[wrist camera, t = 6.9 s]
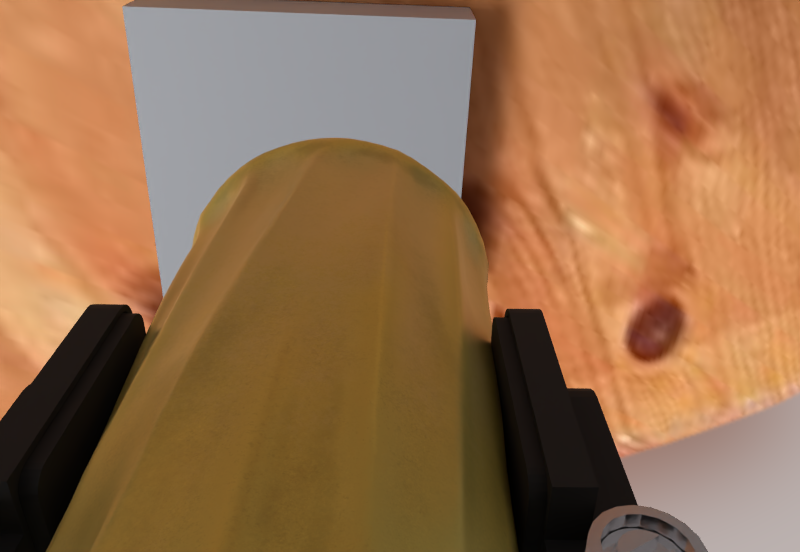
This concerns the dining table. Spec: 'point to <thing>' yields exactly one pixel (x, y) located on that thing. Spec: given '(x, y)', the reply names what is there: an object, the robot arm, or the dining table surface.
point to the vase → (311, 375)
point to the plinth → (288, 91)
